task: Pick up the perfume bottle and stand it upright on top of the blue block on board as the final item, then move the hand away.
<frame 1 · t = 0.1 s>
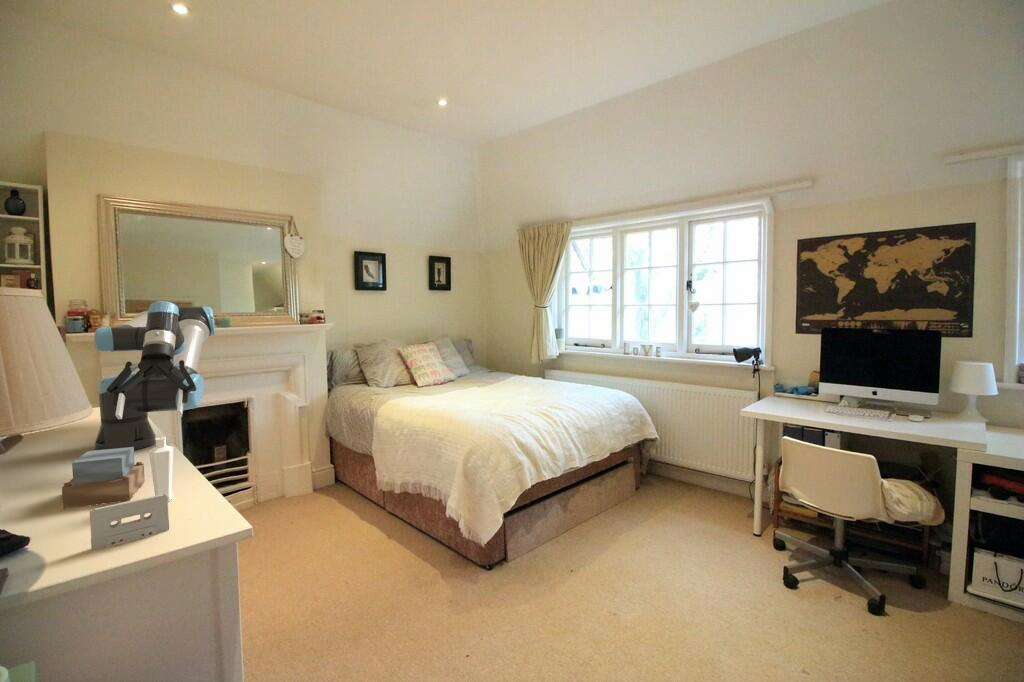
hand: (149, 415, 129), 15 cm above the table, tool tilted 35°, fingers open, 13 cm apart
cassette: (132, 540, 93), on the table
blue block on board: (106, 494, 113), on the table
perfume bottle: (162, 501, 111), on the table
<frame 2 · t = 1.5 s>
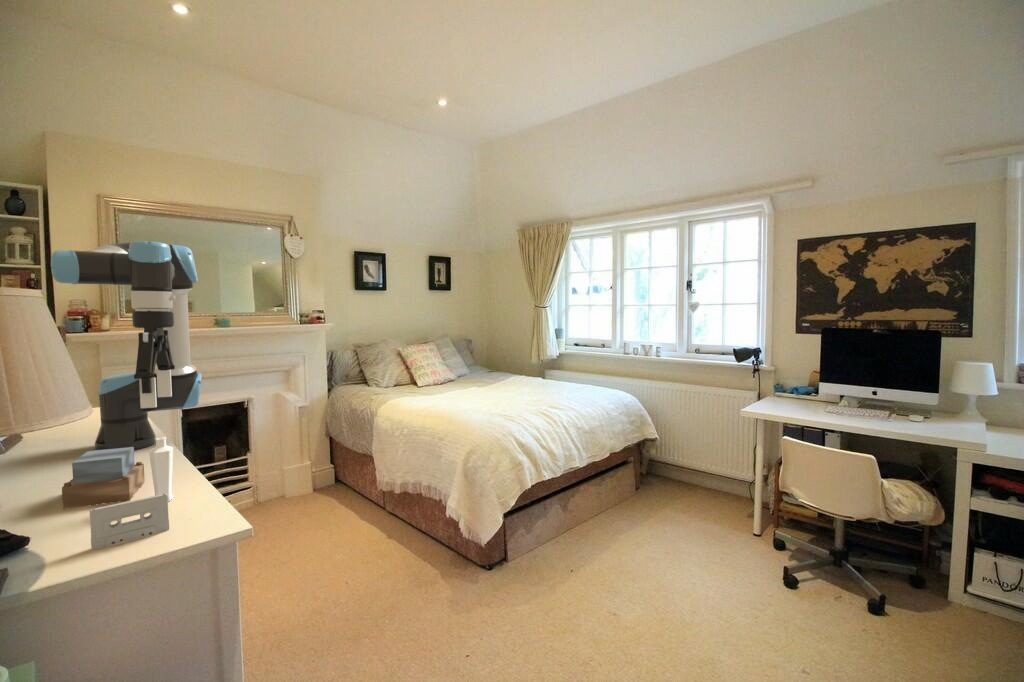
hand: (157, 402, 109), 24 cm above the table, tool pointing down, fingers open, 13 cm apart
nothing on the table moved.
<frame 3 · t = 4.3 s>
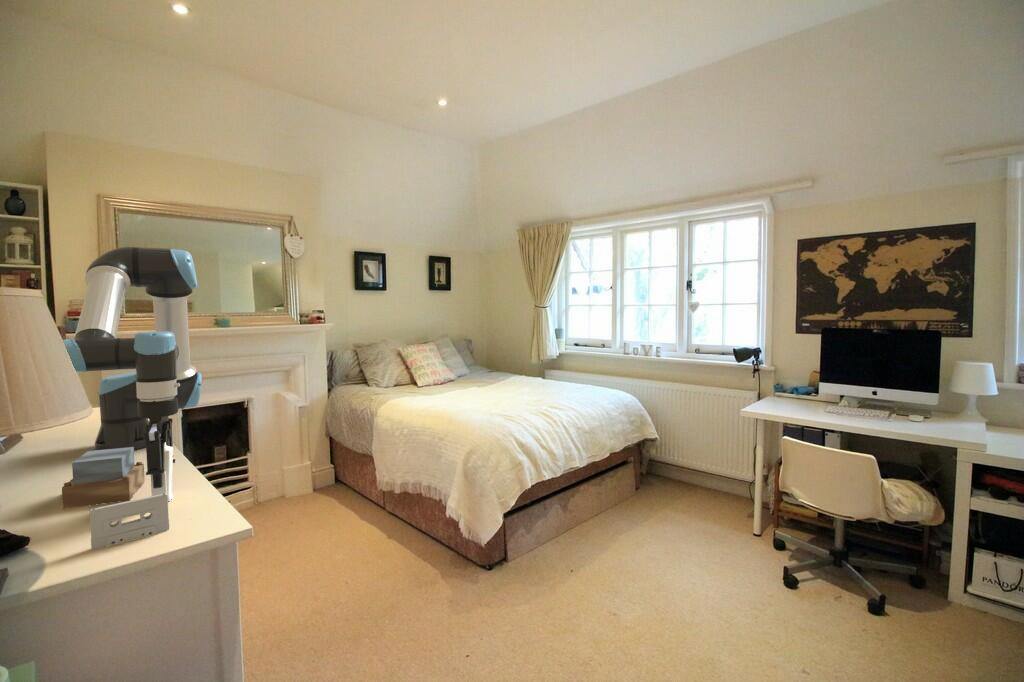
hand: (162, 495, 111), 1 cm above the table, tool pointing down, fingers closed on perfume bottle, 5 cm apart
perfume bottle: (162, 501, 111), on the table, touching gripper
everything else where it was.
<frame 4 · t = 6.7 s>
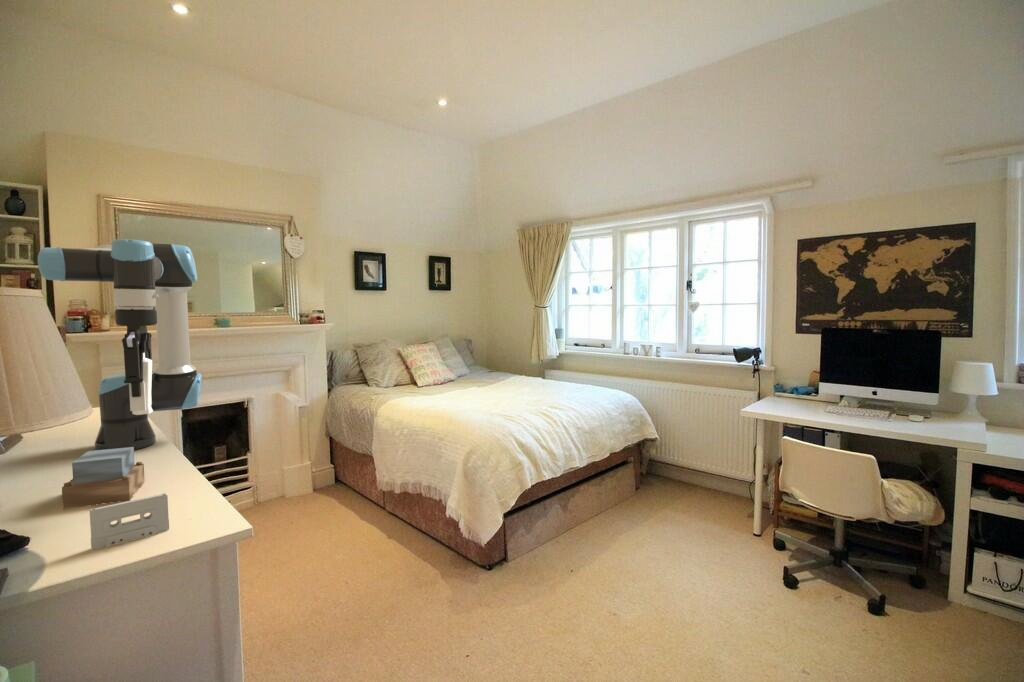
hand: (141, 407, 110), 22 cm above the table, tool pointing down, fingers closed on perfume bottle, 5 cm apart
perfume bottle: (141, 413, 110), point 20 cm above the table, touching gripper
everything else where it was.
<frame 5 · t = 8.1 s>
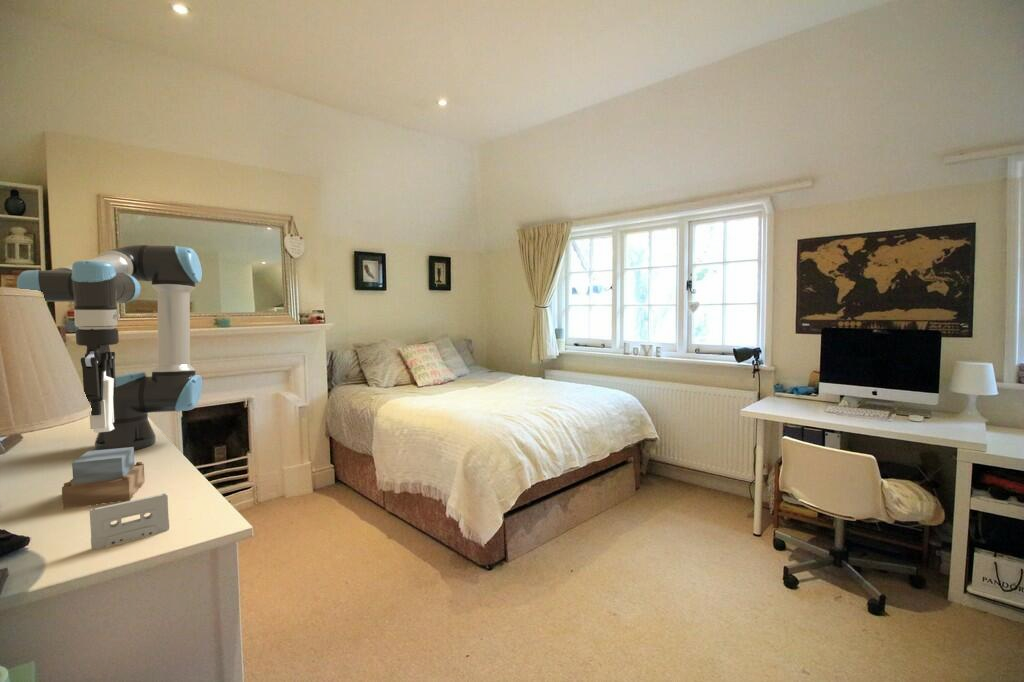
hand: (102, 425, 112), 17 cm above the table, tool pointing down, fingers closed on perfume bottle, 5 cm apart
perfume bottle: (102, 431, 112), point 16 cm above the table, touching gripper
everything else where it was.
when the fingers open (13 cm above the table, at t = 9.2 s): perfume bottle drops 1 cm, resting on blue block on board.
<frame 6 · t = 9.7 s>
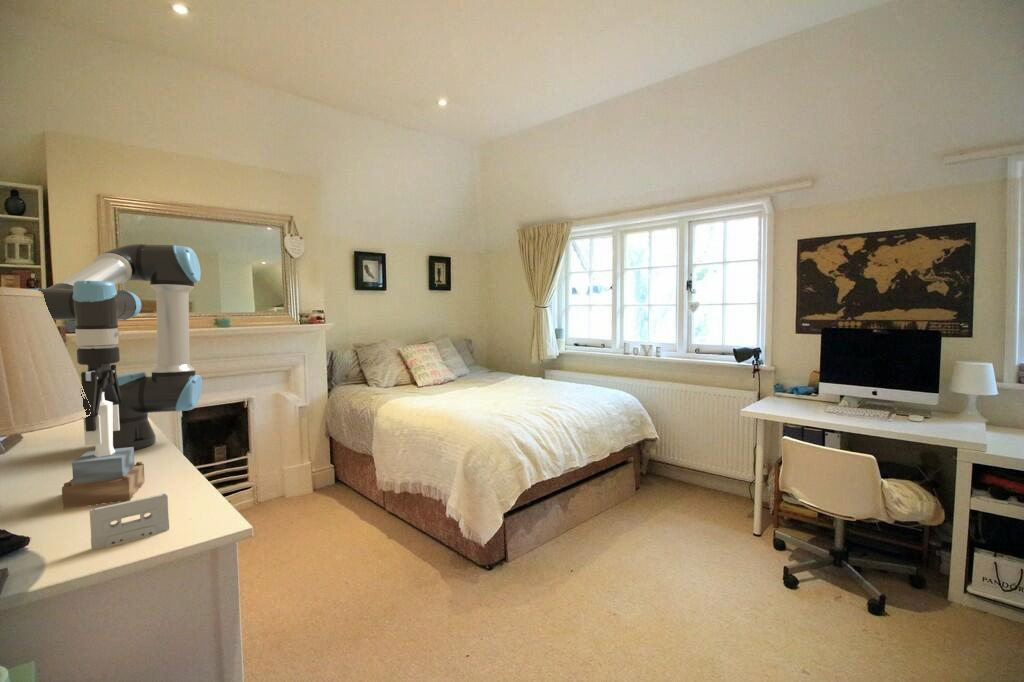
hand: (103, 437, 112), 14 cm above the table, tool pointing down, fingers open, 11 cm apart
perfume bottle: (103, 455, 112), point 10 cm above the table, touching blue block on board
everything else where it was.
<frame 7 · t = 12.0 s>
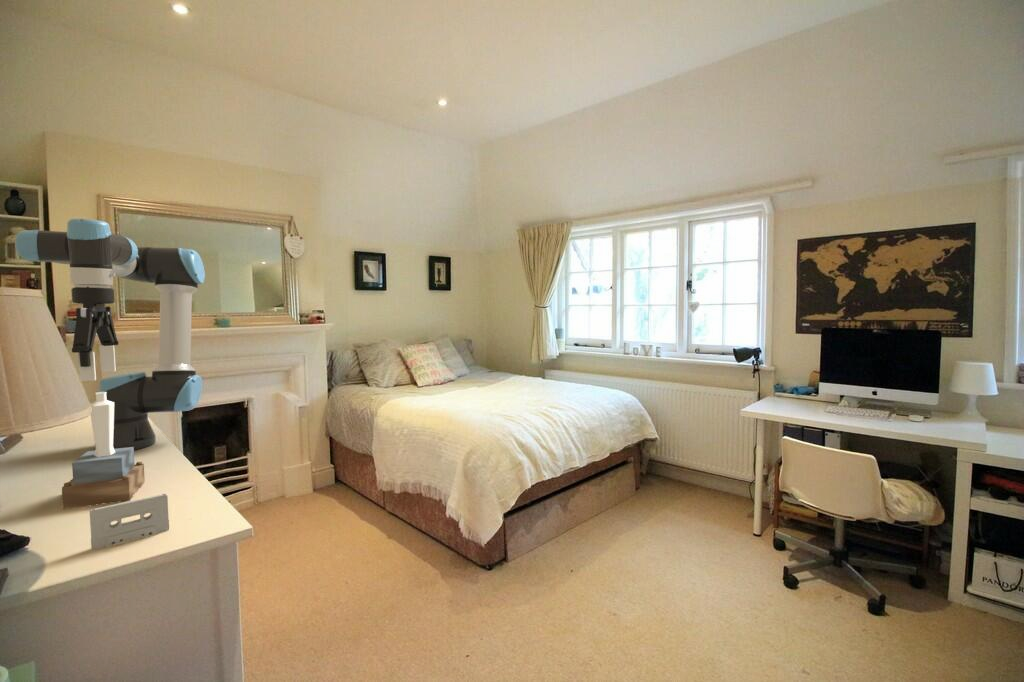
hand: (98, 376, 112), 29 cm above the table, tool pointing down, fingers open, 13 cm apart
nothing on the table moved.
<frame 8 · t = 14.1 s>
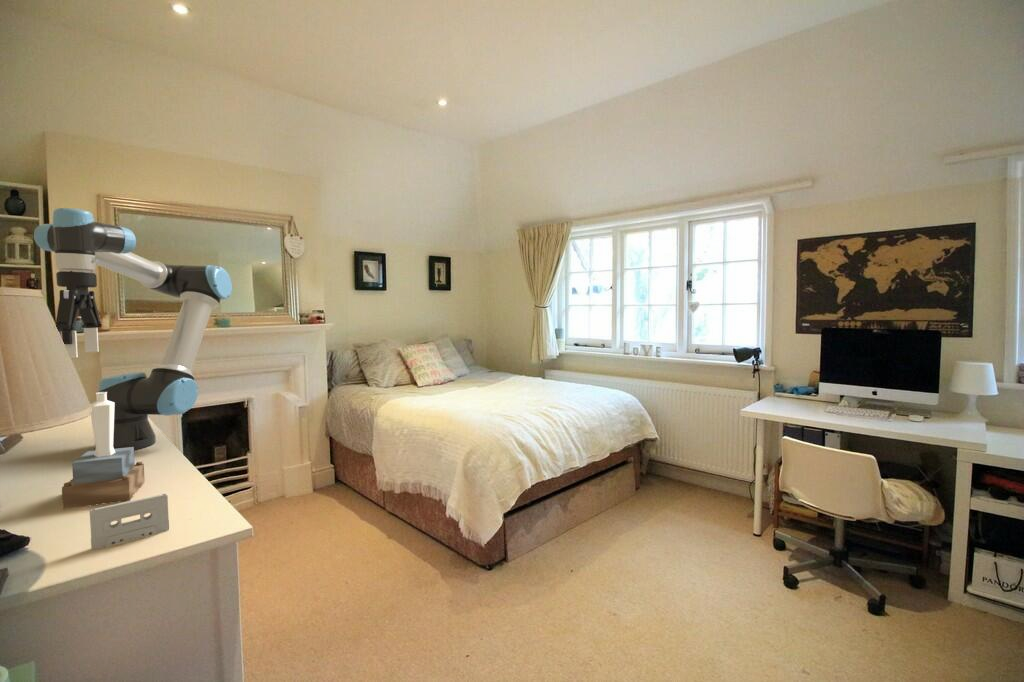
hand: (81, 354, 121), 33 cm above the table, tool pointing down, fingers open, 13 cm apart
nothing on the table moved.
at the end: perfume bottle 0.1 cm off-centre on the blue block on board, point 9.8 cm above the blue block on board's base; perfume bottle tilted 0°; the gripper is holding nothing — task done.
